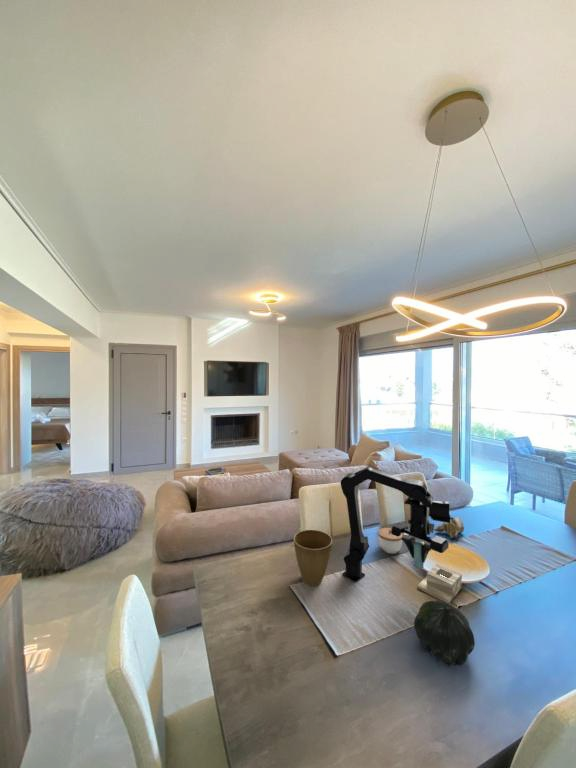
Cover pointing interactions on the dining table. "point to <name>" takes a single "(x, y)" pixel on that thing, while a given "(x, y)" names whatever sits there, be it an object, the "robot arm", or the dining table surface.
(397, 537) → the lidded jar
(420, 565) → the peg
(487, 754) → the dining table surface
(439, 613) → the squash
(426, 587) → the socket board
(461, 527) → the ceramic sculpture
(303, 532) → the plant pot
